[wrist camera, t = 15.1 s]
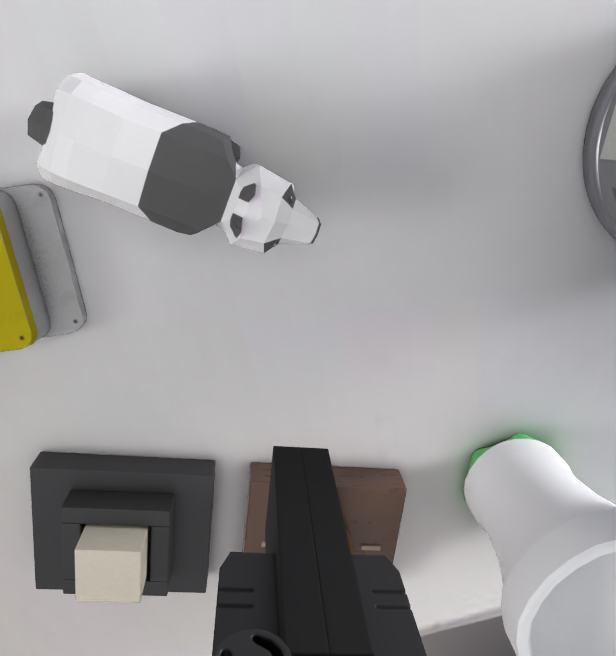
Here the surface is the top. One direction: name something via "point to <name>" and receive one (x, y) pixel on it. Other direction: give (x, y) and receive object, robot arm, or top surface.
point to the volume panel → (356, 503)
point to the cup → (547, 549)
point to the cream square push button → (111, 563)
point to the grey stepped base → (123, 514)
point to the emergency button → (35, 270)
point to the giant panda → (162, 167)
